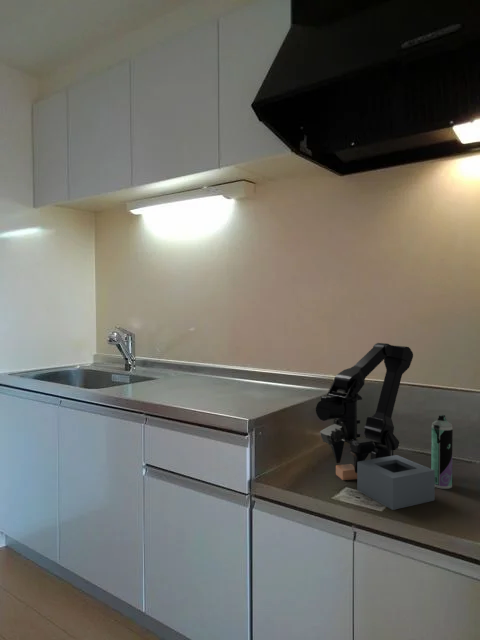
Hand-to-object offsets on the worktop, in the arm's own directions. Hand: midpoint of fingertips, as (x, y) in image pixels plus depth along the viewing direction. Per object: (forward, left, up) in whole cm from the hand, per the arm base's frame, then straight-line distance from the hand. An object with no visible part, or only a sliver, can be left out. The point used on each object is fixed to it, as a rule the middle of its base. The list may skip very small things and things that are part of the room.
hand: (347, 467), depth 143 cm
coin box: (-3, +17, -3) cm, 17 cm away
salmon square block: (0, 0, -3) cm, 3 cm away
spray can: (-20, +17, -3) cm, 26 cm away
